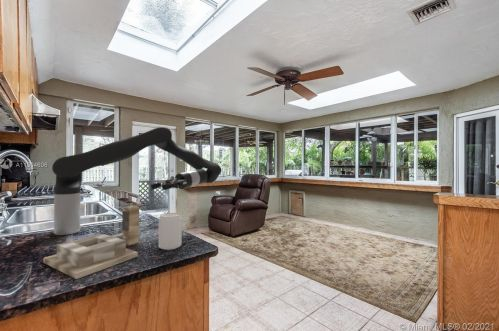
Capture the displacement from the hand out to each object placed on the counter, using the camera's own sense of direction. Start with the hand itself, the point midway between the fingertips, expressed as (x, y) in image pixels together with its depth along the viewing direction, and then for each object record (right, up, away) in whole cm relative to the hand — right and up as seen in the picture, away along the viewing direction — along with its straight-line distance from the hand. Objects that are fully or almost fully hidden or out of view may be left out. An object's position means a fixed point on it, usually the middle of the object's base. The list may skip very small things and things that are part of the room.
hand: (156, 187), depth 99 cm
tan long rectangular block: (-7, -21, -7) cm, 23 cm away
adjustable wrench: (-19, -21, -3) cm, 29 cm away
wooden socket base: (-12, -21, -23) cm, 33 cm away
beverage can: (+9, -21, -11) cm, 26 cm away
